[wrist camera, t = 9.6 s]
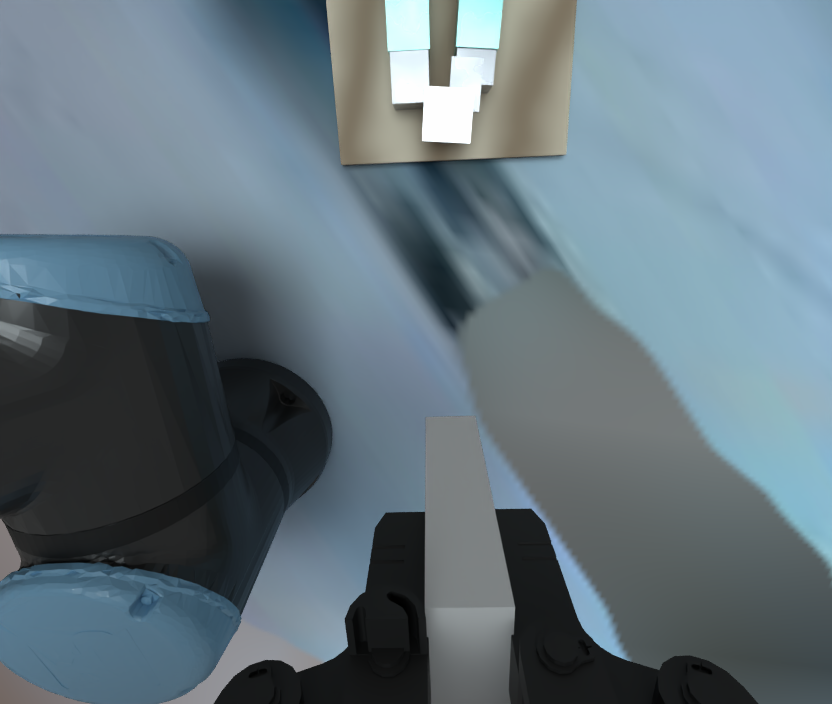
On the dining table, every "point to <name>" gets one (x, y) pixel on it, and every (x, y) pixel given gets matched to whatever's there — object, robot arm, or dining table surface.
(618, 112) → the dining table surface
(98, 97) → the dining table surface
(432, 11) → the board
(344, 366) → the dining table surface
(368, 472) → the dining table surface
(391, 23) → the teal-banded grey bar
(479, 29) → the tongs arm
